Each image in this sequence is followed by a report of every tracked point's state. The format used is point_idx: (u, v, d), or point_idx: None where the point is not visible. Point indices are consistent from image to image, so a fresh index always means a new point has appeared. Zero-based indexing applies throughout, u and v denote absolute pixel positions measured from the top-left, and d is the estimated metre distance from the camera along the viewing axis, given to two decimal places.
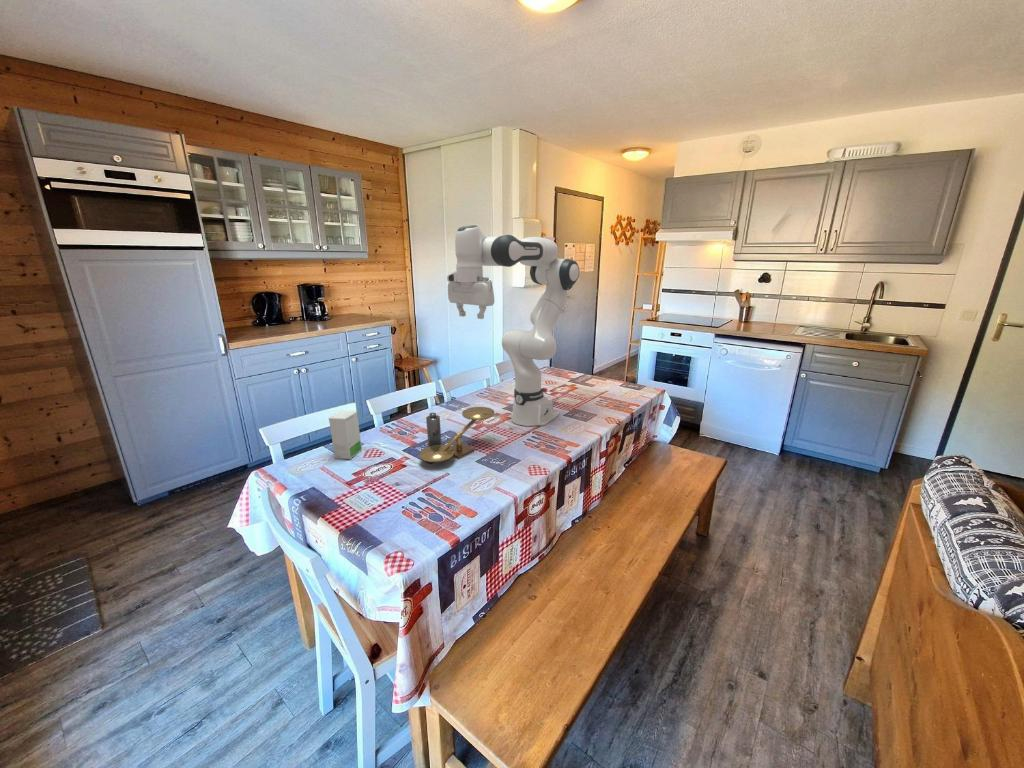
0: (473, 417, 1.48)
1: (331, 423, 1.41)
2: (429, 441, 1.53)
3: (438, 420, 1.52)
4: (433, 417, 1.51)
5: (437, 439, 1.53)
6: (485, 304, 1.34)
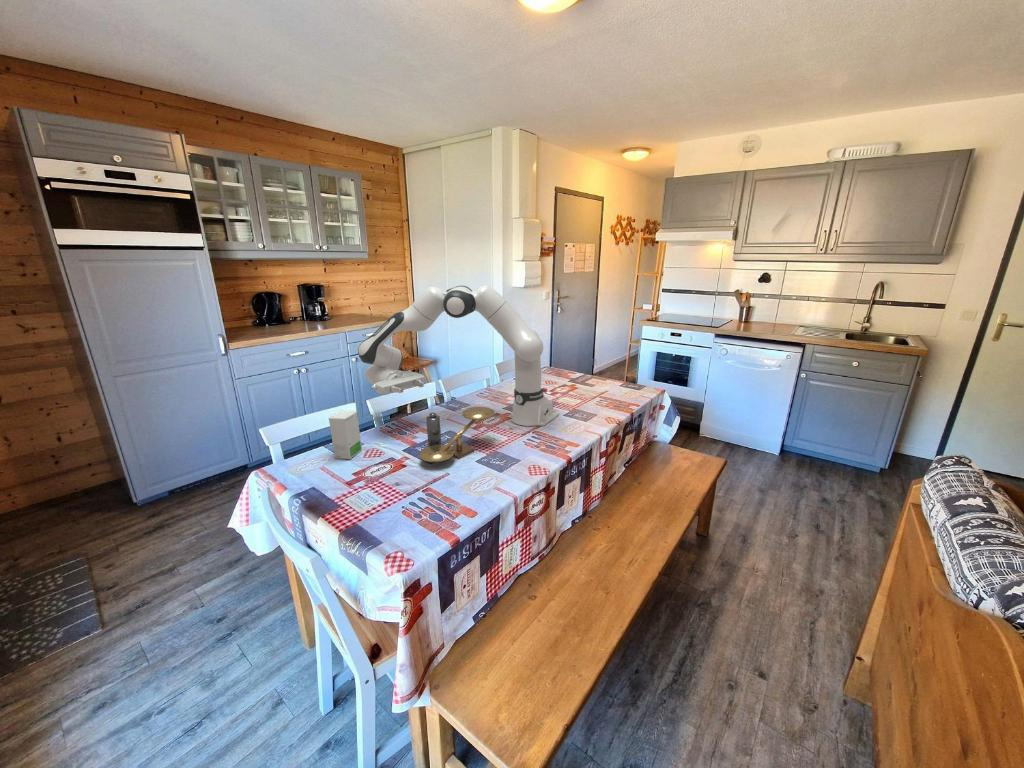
0: (473, 417, 1.48)
1: (331, 423, 1.41)
2: (429, 441, 1.53)
3: (438, 420, 1.52)
4: (433, 417, 1.51)
5: (437, 439, 1.53)
6: (384, 394, 1.55)
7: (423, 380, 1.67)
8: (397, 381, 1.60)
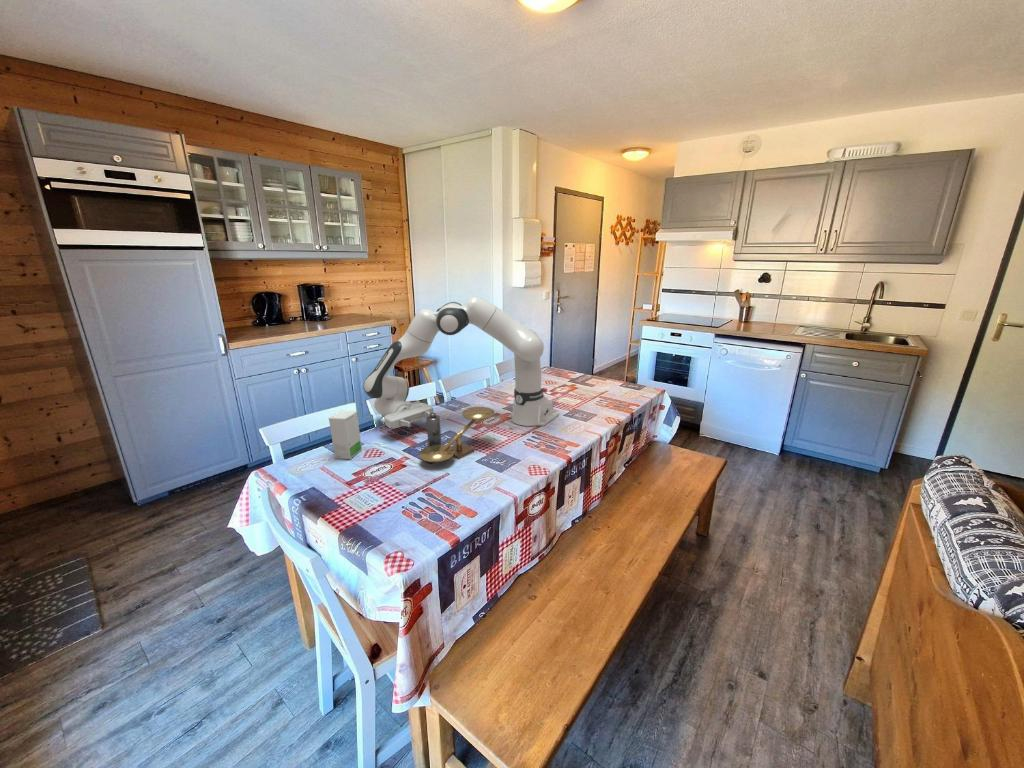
0: (473, 417, 1.48)
1: (331, 423, 1.41)
2: (429, 441, 1.53)
3: (438, 420, 1.52)
4: (433, 417, 1.51)
5: (437, 439, 1.53)
6: (393, 428, 1.57)
7: (432, 411, 1.68)
8: (406, 414, 1.61)
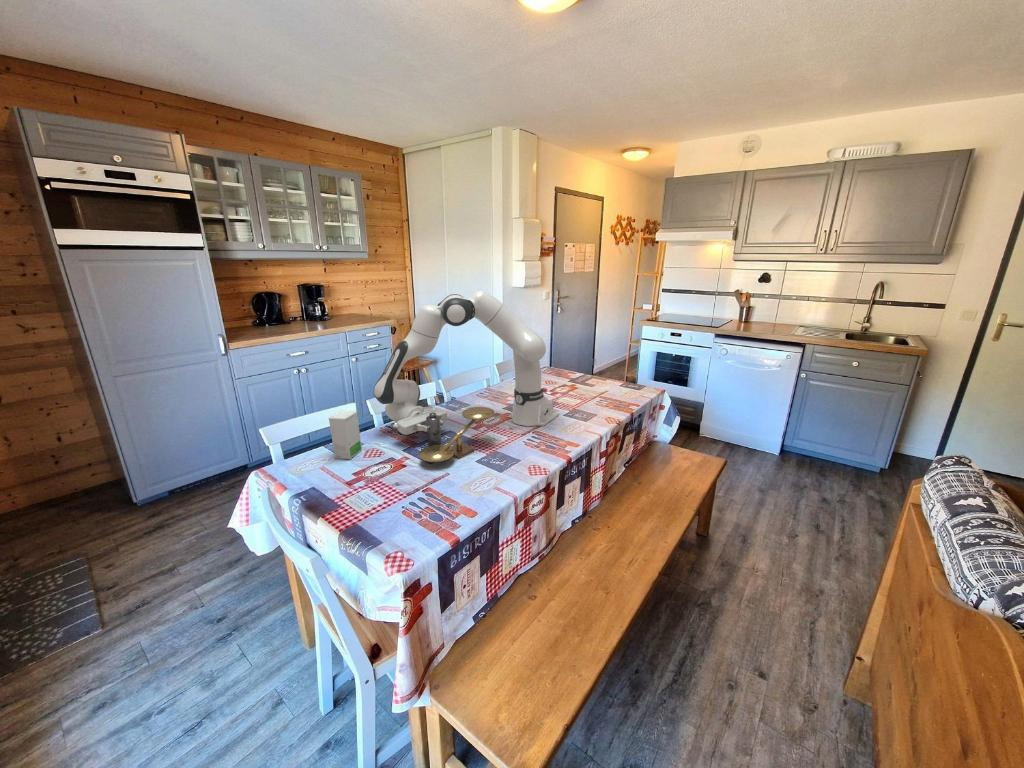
0: (473, 417, 1.48)
1: (331, 423, 1.41)
2: (429, 441, 1.53)
3: (438, 420, 1.52)
4: (433, 417, 1.51)
5: (437, 439, 1.53)
6: (406, 434, 1.51)
7: (445, 416, 1.62)
8: (419, 419, 1.55)
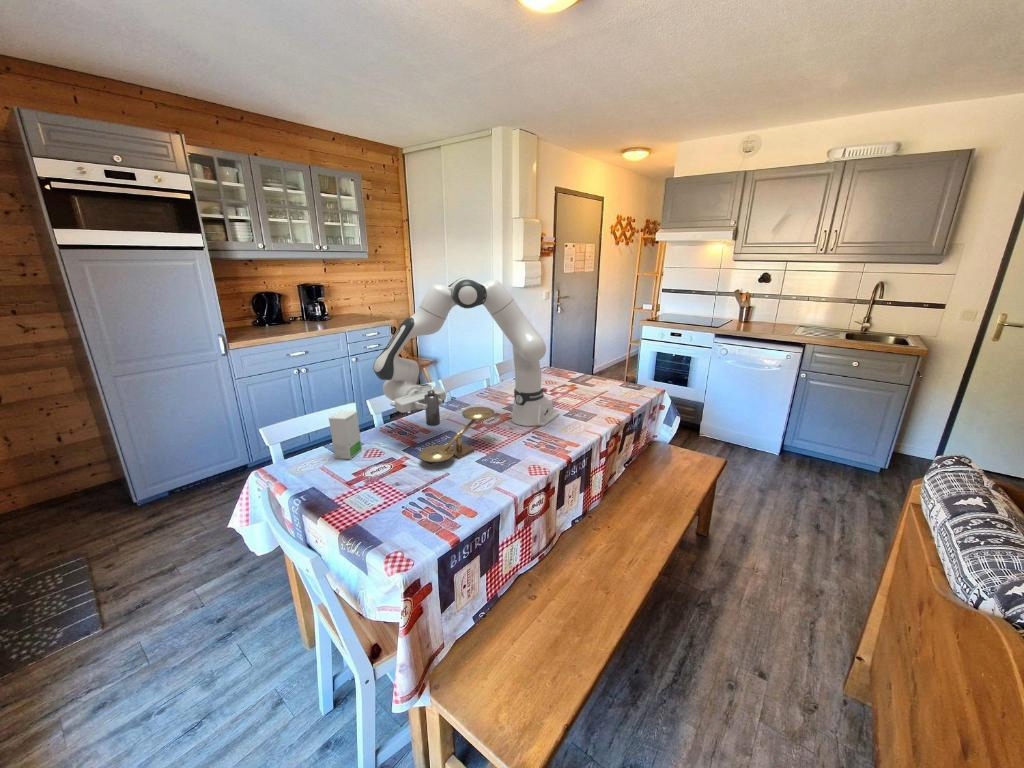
0: (473, 417, 1.48)
1: (331, 423, 1.41)
2: (427, 420, 1.49)
3: (437, 398, 1.48)
4: (431, 395, 1.47)
5: (435, 418, 1.49)
6: (404, 412, 1.46)
7: (444, 395, 1.58)
8: (417, 397, 1.51)
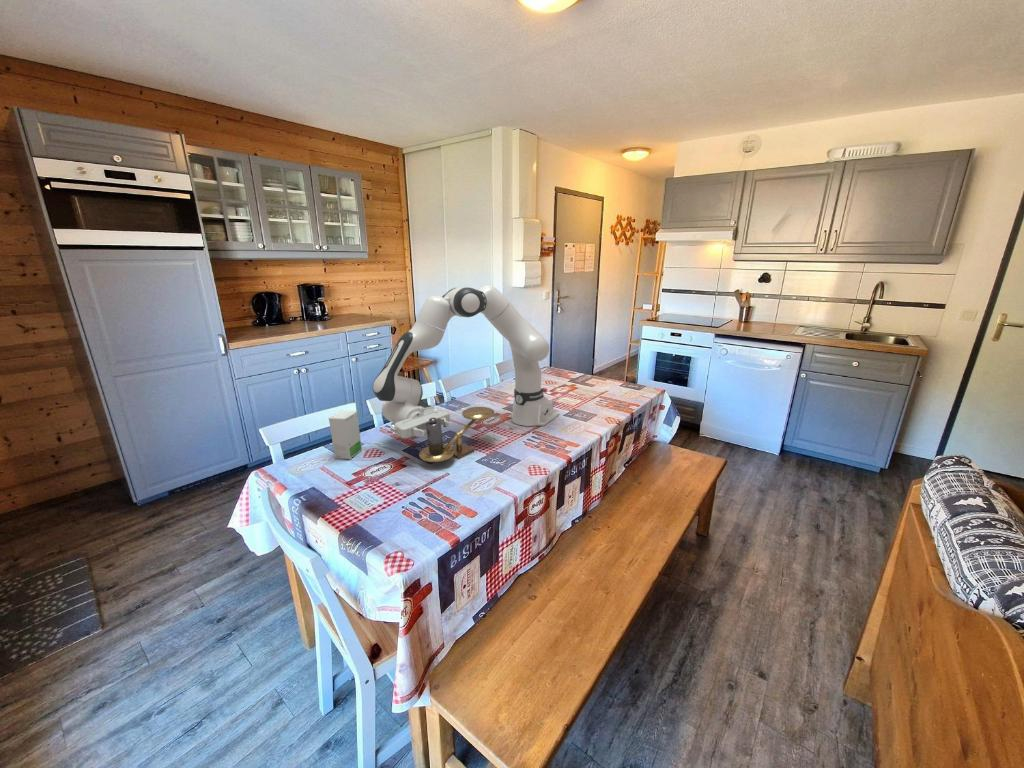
0: (473, 417, 1.48)
1: (331, 423, 1.41)
2: (430, 449, 1.39)
3: (439, 426, 1.37)
4: (433, 423, 1.37)
5: (438, 447, 1.39)
6: None
7: (448, 417, 1.47)
8: (419, 421, 1.40)
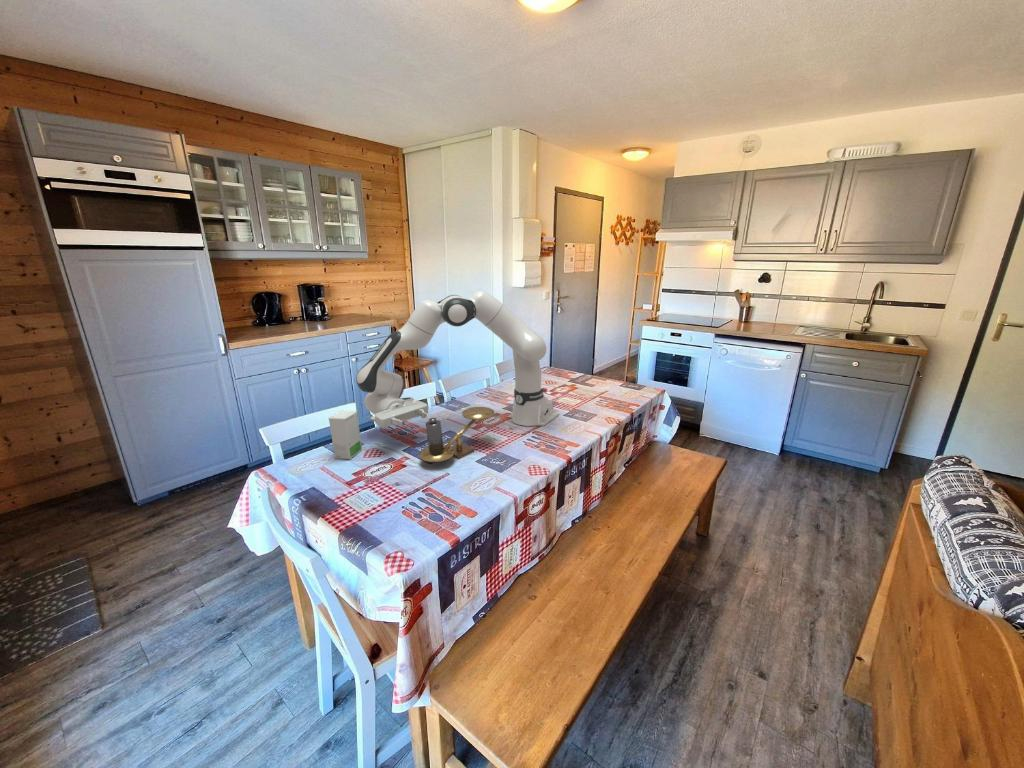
0: (473, 417, 1.48)
1: (331, 423, 1.41)
2: (430, 449, 1.39)
3: (439, 426, 1.37)
4: (433, 423, 1.37)
5: (438, 447, 1.39)
6: (384, 427, 1.44)
7: (426, 409, 1.56)
8: (398, 412, 1.49)
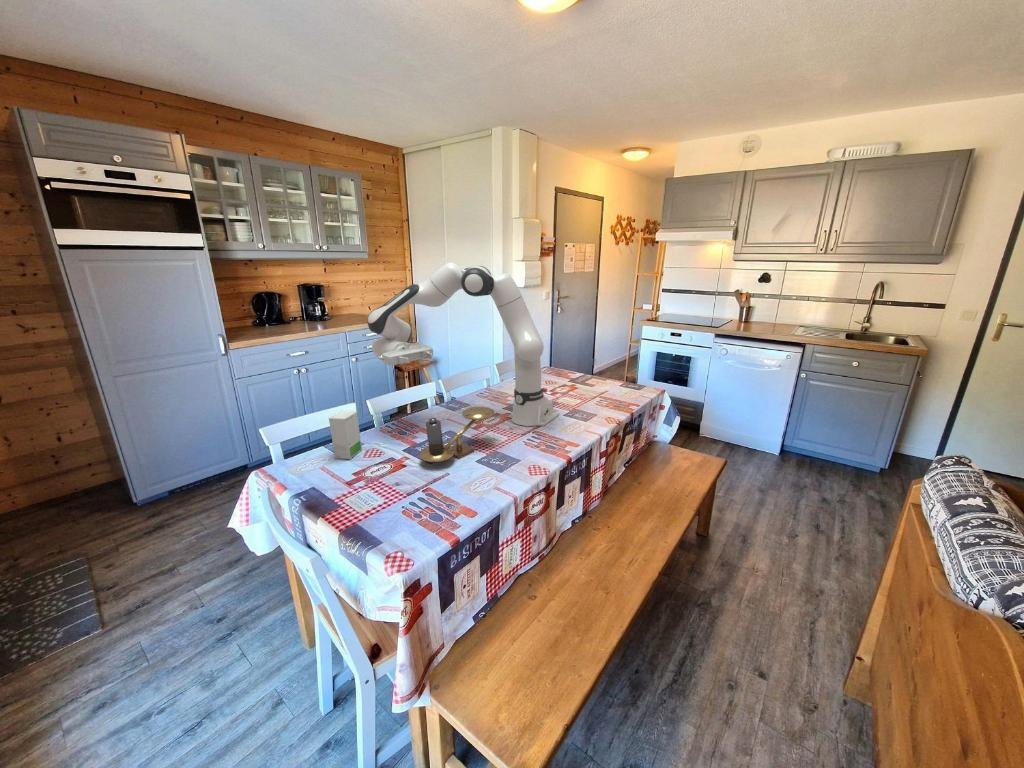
0: (473, 417, 1.48)
1: (331, 423, 1.41)
2: (430, 449, 1.39)
3: (439, 426, 1.37)
4: (433, 423, 1.37)
5: (438, 447, 1.39)
6: None
7: (431, 352, 1.62)
8: (405, 352, 1.55)
